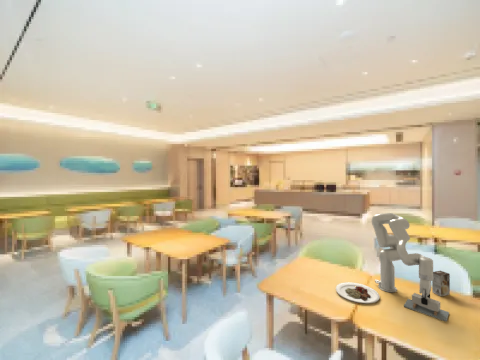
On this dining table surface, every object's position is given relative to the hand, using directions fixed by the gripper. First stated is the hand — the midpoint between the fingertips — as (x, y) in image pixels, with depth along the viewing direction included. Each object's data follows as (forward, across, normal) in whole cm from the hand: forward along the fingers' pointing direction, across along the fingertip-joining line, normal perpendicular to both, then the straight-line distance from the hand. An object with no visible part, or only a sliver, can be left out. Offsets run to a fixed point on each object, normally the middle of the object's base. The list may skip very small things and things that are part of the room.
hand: (425, 301), depth 152 cm
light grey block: (+3, 0, 0) cm, 3 cm away
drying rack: (+6, 0, 0) cm, 6 cm away
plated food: (+7, +11, -40) cm, 42 cm away
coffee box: (+6, -34, +4) cm, 35 cm away
